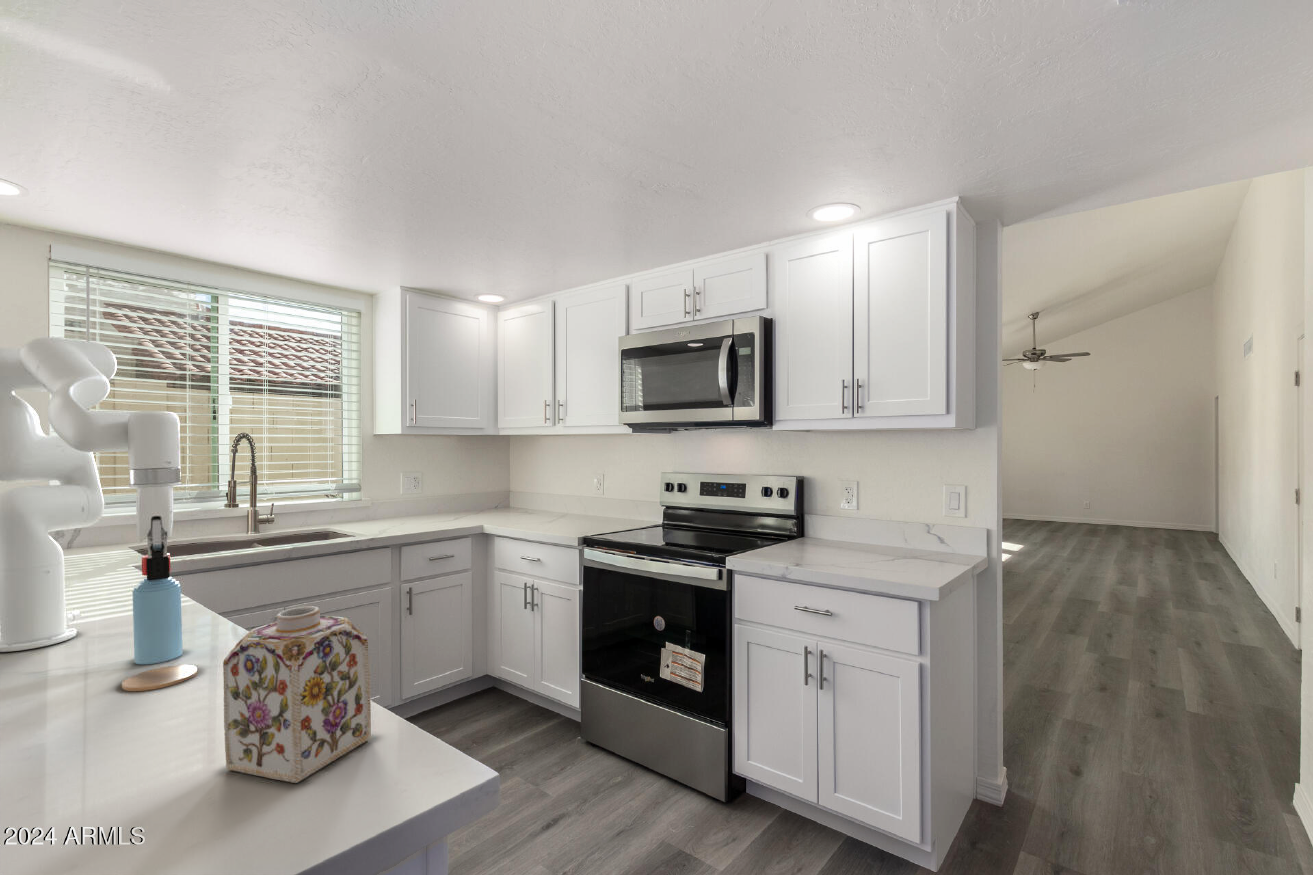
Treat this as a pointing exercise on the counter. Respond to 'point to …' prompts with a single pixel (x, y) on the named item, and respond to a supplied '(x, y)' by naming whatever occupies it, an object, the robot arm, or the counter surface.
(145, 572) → the cap
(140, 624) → the bottle
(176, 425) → the robot arm
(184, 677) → the coaster
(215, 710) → the counter surface
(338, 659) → the decorative jar
